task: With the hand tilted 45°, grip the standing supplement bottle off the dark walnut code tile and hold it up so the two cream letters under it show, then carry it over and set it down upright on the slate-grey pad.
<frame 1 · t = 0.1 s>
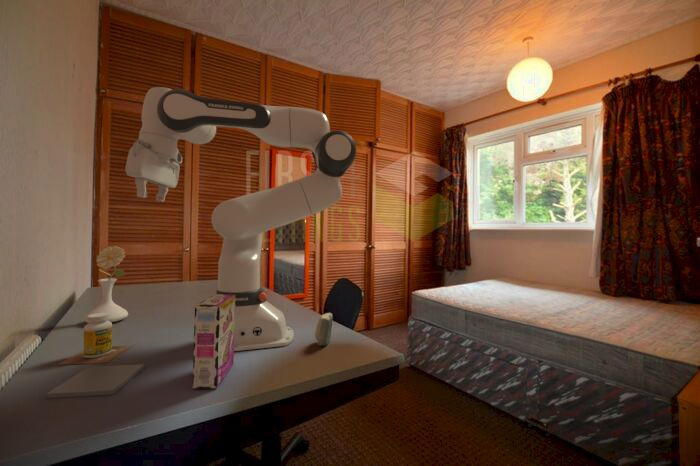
hand: (151, 199, 82), 39 cm above the table, tool pointing down, fingers open, 8 cm apart
flower in vase: (108, 322, 99), on the table
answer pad: (100, 381, 61), on the table
supplement bottle: (98, 355, 74), resting on code tile
candy bar box: (215, 377, 64), on the table
beige upright rounded block: (324, 344, 84), on the table
code tile: (98, 354, 74), on the table
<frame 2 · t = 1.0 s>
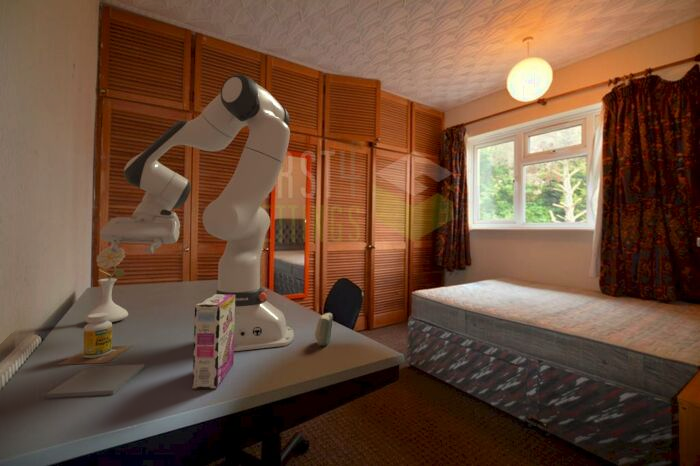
hand: (131, 251, 87), 24 cm above the table, tool tilted 45°, fingers open, 8 cm apart
nothing on the table moved.
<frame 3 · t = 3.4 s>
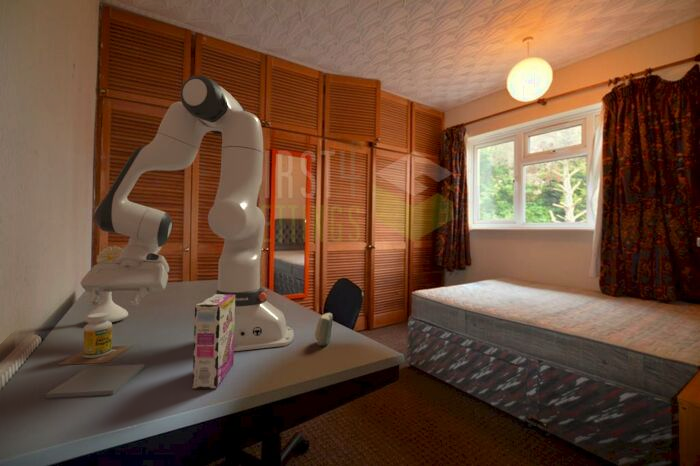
hand: (114, 303, 80), 11 cm above the table, tool tilted 45°, fingers open, 8 cm apart
nothing on the table moved.
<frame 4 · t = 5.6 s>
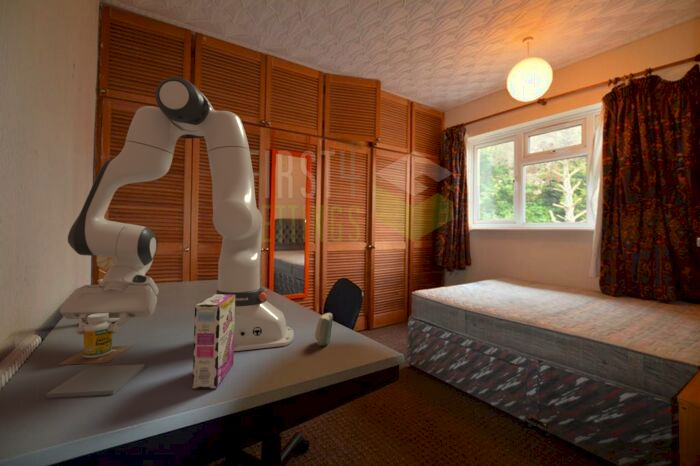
hand: (96, 332, 73), 6 cm above the table, tool tilted 45°, fingers closed on supplement bottle, 5 cm apart
supplement bottle: (98, 355, 74), resting on code tile, touching gripper
everything else where it was.
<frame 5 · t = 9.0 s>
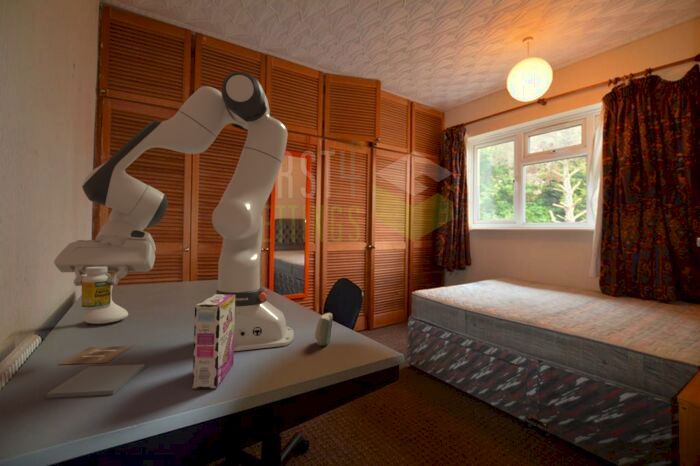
hand: (95, 284, 71), 18 cm above the table, tool tilted 45°, fingers closed on supplement bottle, 5 cm apart
supplement bottle: (96, 308, 72), point 12 cm above the table, touching gripper
everything else where it was.
when the fingers open (8 cm above the table, at t = 12.7 s): supplement bottle drops 1 cm, resting on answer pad.
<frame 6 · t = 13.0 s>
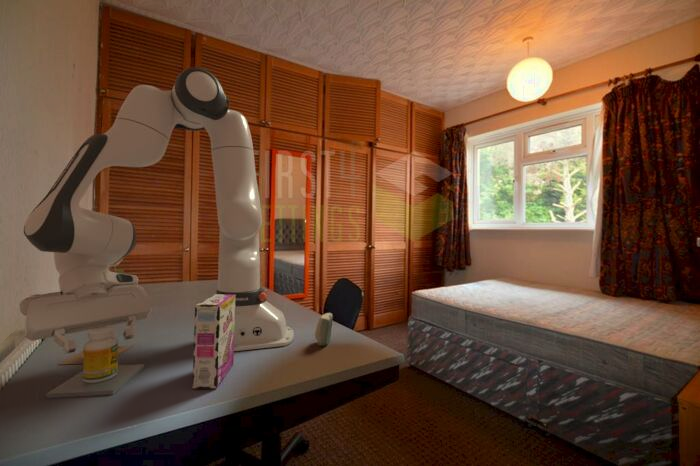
hand: (101, 344, 61), 8 cm above the table, tool tilted 45°, fingers open, 8 cm apart
supplement bottle: (100, 378, 61), point 1 cm above the table, touching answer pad
everything else where it was.
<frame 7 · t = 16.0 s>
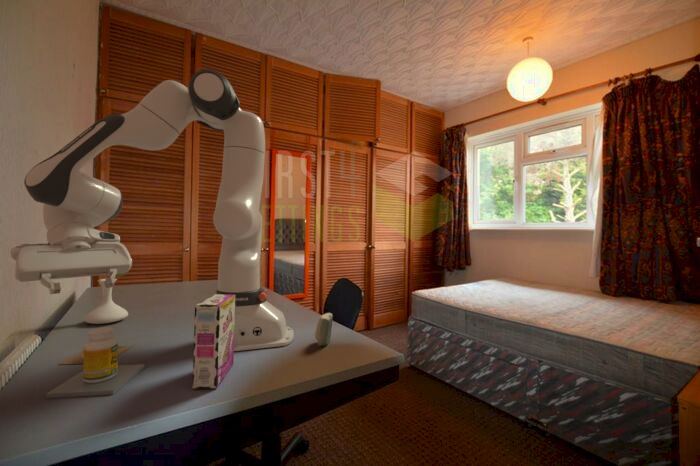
hand: (84, 289, 68), 17 cm above the table, tool tilted 45°, fingers open, 8 cm apart
nothing on the table moved.
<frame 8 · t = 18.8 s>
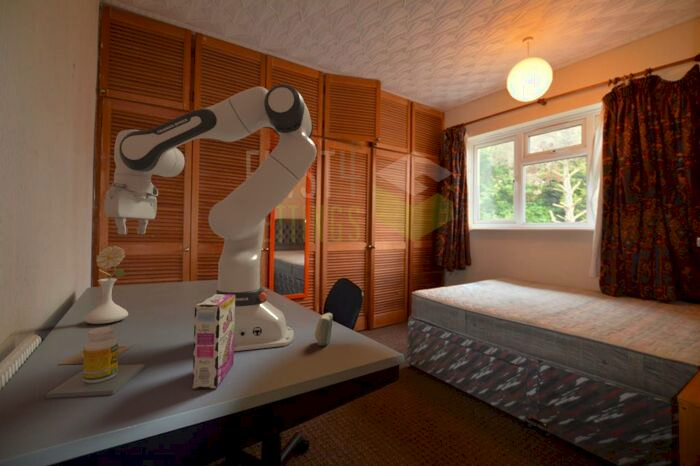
hand: (132, 234, 89), 29 cm above the table, tool pointing down, fingers open, 8 cm apart
nothing on the table moved.
at the end: supplement bottle 0.1 cm off-centre on the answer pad, point 0.6 cm above the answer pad's base; supplement bottle tilted 0°; the gripper is holding nothing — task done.
